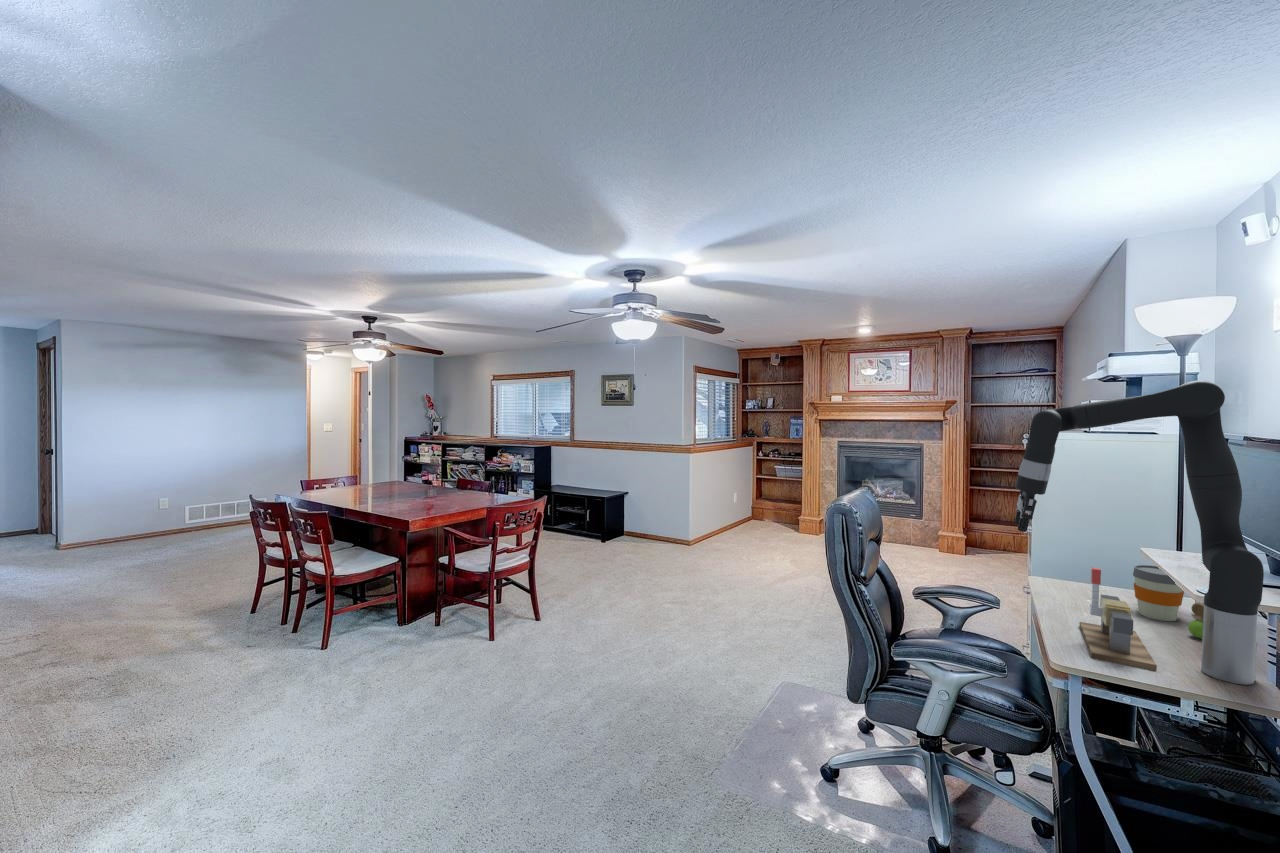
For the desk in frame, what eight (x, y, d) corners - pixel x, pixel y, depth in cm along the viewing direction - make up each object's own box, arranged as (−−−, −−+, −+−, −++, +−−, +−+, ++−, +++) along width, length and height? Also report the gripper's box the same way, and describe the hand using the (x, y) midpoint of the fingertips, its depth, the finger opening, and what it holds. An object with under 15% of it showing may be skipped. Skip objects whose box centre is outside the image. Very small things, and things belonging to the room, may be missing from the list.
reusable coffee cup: (1187, 626, 172) (1189, 578, 171) (1133, 616, 179) (1135, 571, 179) (1180, 614, 182) (1182, 569, 181) (1129, 606, 189) (1131, 562, 189)
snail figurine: (1210, 644, 158) (1212, 603, 158) (1183, 635, 164) (1185, 596, 164) (1223, 642, 160) (1225, 601, 159) (1195, 633, 166) (1197, 594, 166)
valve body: (1096, 626, 167) (1098, 590, 167) (1119, 630, 164) (1120, 593, 164) (1109, 653, 149) (1110, 613, 148) (1135, 658, 146) (1136, 617, 145)
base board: (1079, 626, 171) (1079, 621, 171) (1135, 636, 164) (1135, 631, 164) (1091, 658, 149) (1091, 652, 149) (1156, 670, 142) (1156, 665, 142)
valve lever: (1089, 612, 160) (1091, 567, 160) (1101, 614, 159) (1103, 568, 158) (1090, 614, 158) (1092, 569, 158) (1102, 616, 157) (1104, 570, 156)
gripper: (1052, 483, 156) (1038, 537, 159) (1044, 474, 169) (1031, 524, 172) (1021, 477, 160) (1007, 530, 163) (1015, 469, 172) (1003, 518, 175)
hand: (1019, 527), depth 167 cm, fingers open, 8 cm apart
